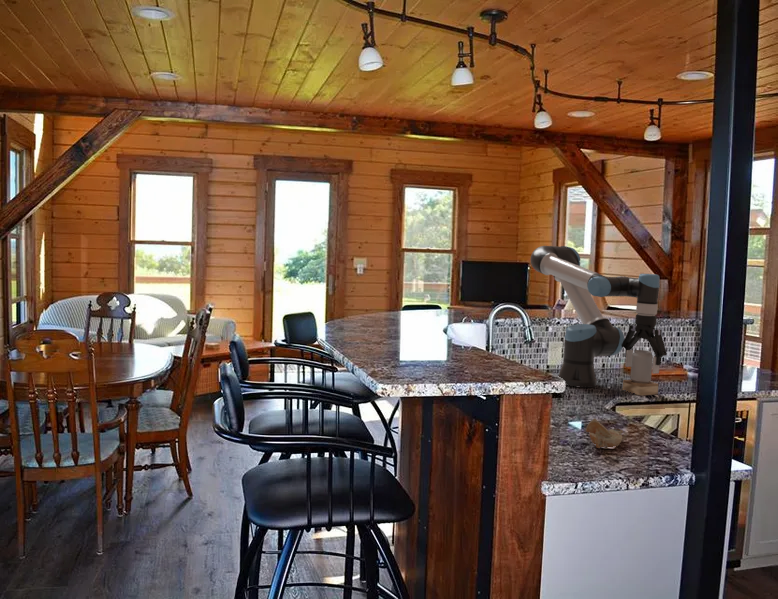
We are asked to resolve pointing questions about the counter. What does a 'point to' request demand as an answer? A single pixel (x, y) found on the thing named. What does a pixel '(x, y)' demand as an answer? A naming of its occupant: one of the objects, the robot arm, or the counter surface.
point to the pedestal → (640, 387)
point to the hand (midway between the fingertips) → (641, 370)
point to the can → (641, 366)
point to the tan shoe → (603, 435)
